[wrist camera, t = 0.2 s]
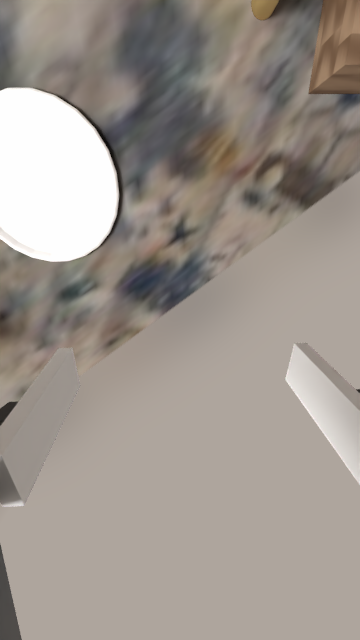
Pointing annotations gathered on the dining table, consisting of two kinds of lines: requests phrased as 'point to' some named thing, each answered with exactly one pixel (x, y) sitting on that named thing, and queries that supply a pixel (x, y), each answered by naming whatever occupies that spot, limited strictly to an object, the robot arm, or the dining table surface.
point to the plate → (53, 178)
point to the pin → (263, 8)
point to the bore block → (337, 49)
